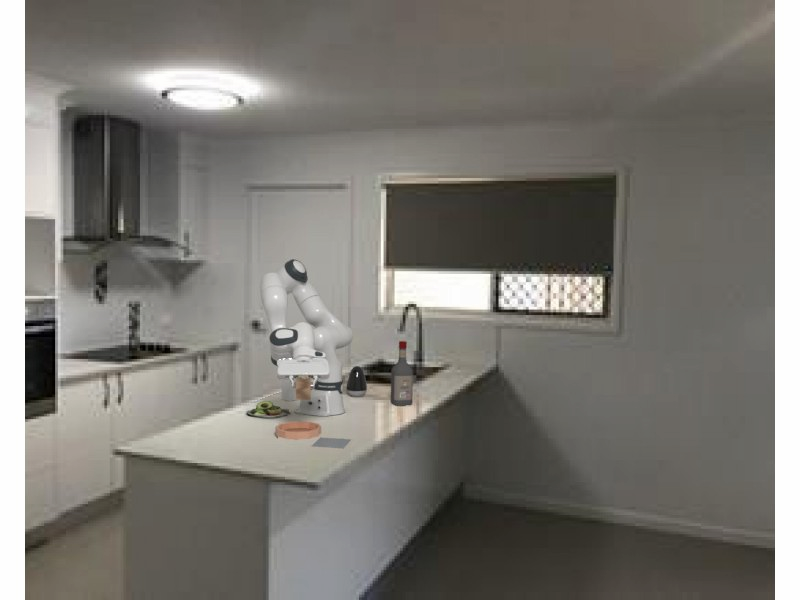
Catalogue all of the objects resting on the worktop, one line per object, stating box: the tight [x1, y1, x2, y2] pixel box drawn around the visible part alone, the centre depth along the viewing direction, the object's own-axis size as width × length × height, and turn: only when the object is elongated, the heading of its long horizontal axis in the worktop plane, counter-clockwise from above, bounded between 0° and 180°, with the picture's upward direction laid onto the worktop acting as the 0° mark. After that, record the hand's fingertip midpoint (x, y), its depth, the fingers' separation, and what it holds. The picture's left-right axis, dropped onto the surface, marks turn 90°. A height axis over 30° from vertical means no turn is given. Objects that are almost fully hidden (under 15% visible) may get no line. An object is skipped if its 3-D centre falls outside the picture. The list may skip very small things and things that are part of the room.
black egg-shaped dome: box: [346, 365, 368, 398], centre depth 330 cm, size 10×10×15 cm
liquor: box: [390, 340, 414, 407], centre depth 314 cm, size 9×9×30 cm
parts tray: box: [311, 437, 352, 449], centre depth 243 cm, size 12×12×1 cm
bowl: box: [274, 420, 322, 440], centre depth 255 cm, size 17×17×4 cm
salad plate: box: [245, 400, 292, 420], centre depth 289 cm, size 19×18×5 cm
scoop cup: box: [295, 374, 312, 401], centre depth 253 cm, size 6×6×9 cm
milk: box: [281, 379, 297, 402], centre depth 319 cm, size 6×6×22 cm
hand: (303, 387), depth 253 cm, fingers closed on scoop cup, 6 cm apart
